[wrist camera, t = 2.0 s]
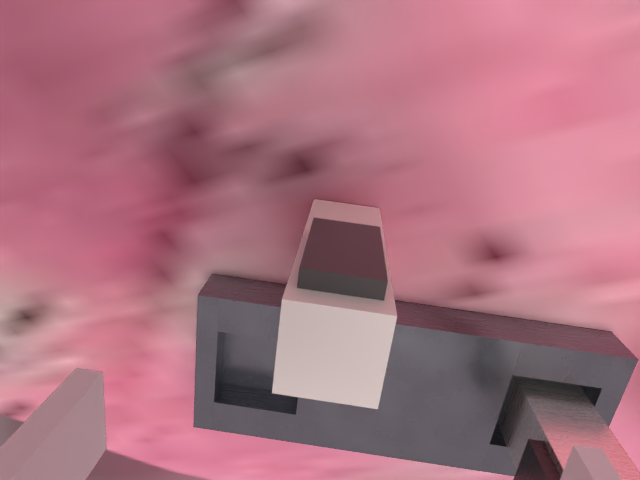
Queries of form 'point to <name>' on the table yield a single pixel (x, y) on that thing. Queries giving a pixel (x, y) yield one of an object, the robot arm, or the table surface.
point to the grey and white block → (423, 387)
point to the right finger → (337, 309)
